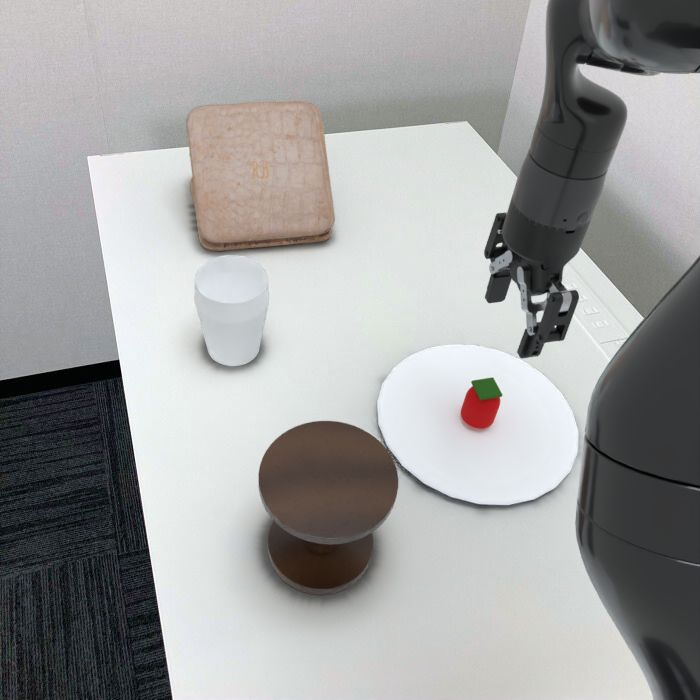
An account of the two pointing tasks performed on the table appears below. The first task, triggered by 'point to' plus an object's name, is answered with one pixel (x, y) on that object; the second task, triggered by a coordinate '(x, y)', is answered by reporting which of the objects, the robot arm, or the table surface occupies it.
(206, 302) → the cup
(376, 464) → the stand
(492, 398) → the strawberry
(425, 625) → the table surface
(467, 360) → the plate
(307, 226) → the case
